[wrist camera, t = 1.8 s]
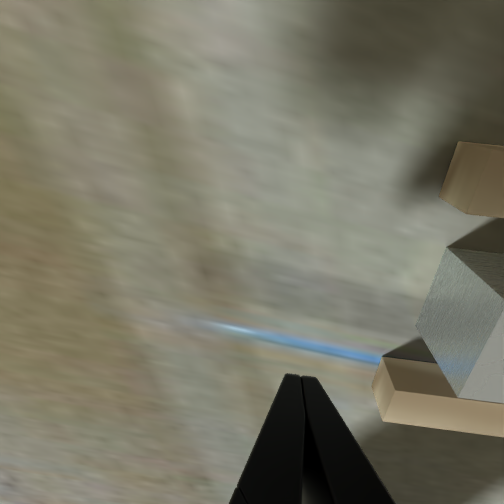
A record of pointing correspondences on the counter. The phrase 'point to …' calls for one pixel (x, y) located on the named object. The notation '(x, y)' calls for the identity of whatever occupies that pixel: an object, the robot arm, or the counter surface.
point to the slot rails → (430, 374)
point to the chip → (467, 322)
